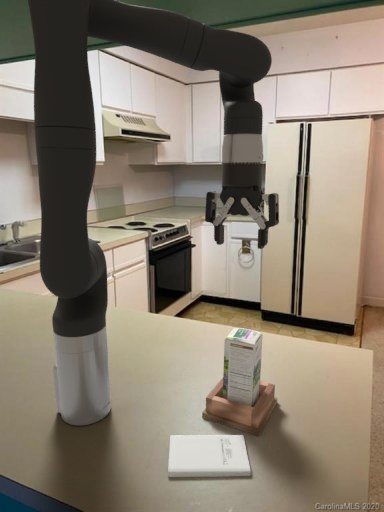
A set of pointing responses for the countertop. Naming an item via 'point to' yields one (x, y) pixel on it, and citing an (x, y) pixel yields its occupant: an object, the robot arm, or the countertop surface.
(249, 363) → the syrup box
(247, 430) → the socket
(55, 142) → the robot arm
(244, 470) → the external hard drive
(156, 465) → the countertop surface
